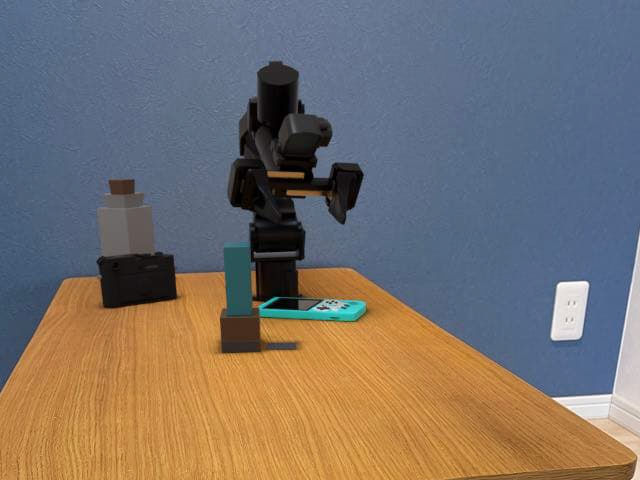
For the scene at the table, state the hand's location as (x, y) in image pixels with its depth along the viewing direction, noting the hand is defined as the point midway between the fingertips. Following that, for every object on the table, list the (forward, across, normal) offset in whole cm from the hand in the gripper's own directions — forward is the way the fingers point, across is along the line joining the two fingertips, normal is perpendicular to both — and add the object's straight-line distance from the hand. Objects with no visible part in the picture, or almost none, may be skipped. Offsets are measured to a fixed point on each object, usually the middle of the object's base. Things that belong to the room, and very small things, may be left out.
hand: (312, 221), depth 114 cm
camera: (-21, -18, +31) cm, 42 cm away
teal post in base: (+12, -11, +11) cm, 19 cm away
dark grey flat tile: (+13, -6, +10) cm, 17 cm away
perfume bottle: (-35, -16, +38) cm, 54 cm away
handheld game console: (-3, +5, +18) cm, 20 cm away
